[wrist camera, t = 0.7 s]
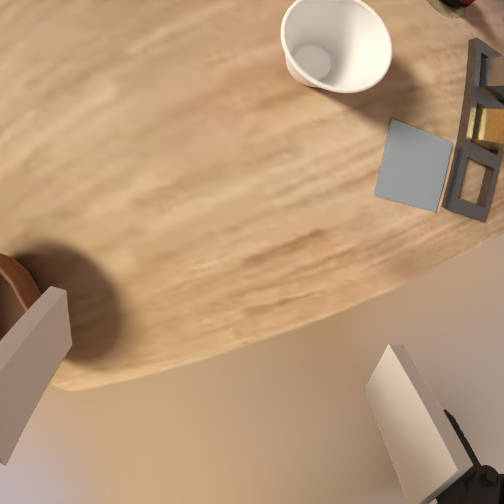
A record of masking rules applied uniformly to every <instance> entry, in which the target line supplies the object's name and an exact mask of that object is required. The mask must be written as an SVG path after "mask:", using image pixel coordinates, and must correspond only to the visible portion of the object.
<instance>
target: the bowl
mask: <svg viewBox="0 0 504 504" xmlns="http://www.w3.org/2000/svg"><path fill="white" fill-rule="evenodd" d="M40 297H41V294H40V291H39V288H38V286H37V283H36V281H35V279H34V278H33V276H32V274H31V273H30V272H29V271H28V270H27V269H26V268H25V267H24V266H23V265H21V264H20V263H19V262H18V261H17V260H16V259H14V258H12V257H9V256H6V255H4V254H1V253H0V341H1V340H2V339H3V337H4V336H5V335H6V334H7V333H8V332H9V330H10V329H11V328H12V327H13V326H14V325H15V324H16V322H17V321H18V320H19V319H20V318H21V317H22V316H23V315H24V314H25V313H26V311H27V310H28V309H29V308H30V307H31V306H32V305H33V304H34V303H35V302H36V301H37V300H38V299H39V298H40Z"/></svg>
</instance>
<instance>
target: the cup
mask: <svg viewBox="0 0 504 504" xmlns="http://www.w3.org/2000/svg"><path fill="white" fill-rule="evenodd" d="M281 41H282V46H283V49H284V51H285V56H286V65H287V68H288V71H289V72H290V74H291V75H292V76H293V78H294V79H295V80H297V81H298V82H300V83H302V84H304V85H306V86H311V87H319V88H323V89H326V90H329V91H332V92H338V93H356V92H360V91H364V90H367V89H369V88H371V87H373V86H374V85H376V84H377V83H378V82H379V81H381V79H382V78H383V77H384V76H385V74H386V73H387V71H388V69H389V67H390V64H391V59H392V42H391V38H390V34H389V32H388V30H387V27H386V25H385V24H384V22H383V21H382V19H381V18H380V17H379V15H378V14H377V13H376V12H375V11H374V10H373V9H372V8H371V7H369V6H368V5H367V4H366V3H364V2H362V1H361V0H297V1H295V2H294V3H293V4H292V6H291V7H290V8H289V9H288V10H287V12H286V14H285V16H284V18H283V21H282V25H281Z"/></svg>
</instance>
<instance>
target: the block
mask: <svg viewBox="0 0 504 504" xmlns="http://www.w3.org/2000/svg"><path fill="white" fill-rule="evenodd" d="M479 89H480V90H481V91H483V92H485V93H486V94H488V95H489V96H491V97H492V98H494V99H495V100H504V56H499V57H492V58H486V59H481V68H480V80H479Z"/></svg>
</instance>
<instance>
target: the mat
mask: <svg viewBox="0 0 504 504" xmlns="http://www.w3.org/2000/svg"><path fill="white" fill-rule="evenodd" d="M451 148H452V143H451V142H449V141H447V140H445V139H442V138H440V137H438V136H435V135H433V134H430V133H428V132H426V131H423V130H421V129H418V128H415V127H413V126H410V125H408V124H405V123H402V122H400V121H397V120H394V119H391V121H390V126H389V131H388V136H387V141H386V145H385V150H384V154H383V159H382V163H381V168H380V172H379V176H378V180H377V184H376V188H375V192H374V196H378V197H382V198H385V199H389V200H393V201H397V202H401V203H404V204H408V205H411V206H415V207H419V208H422V209H426V210H429V211H432V212H436V210H437V206H438V202H439V199H440V195H441V191H442V187H443V183H444V179H445V175H446V171H447V167H448V162H449V158H450V153H451Z"/></svg>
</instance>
